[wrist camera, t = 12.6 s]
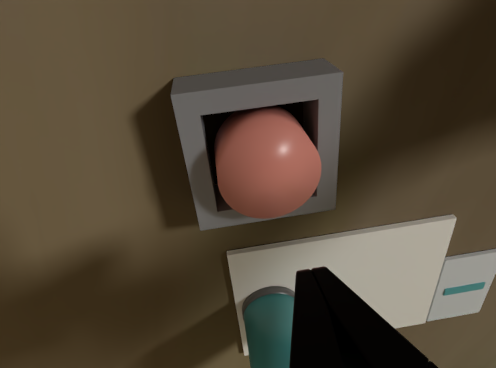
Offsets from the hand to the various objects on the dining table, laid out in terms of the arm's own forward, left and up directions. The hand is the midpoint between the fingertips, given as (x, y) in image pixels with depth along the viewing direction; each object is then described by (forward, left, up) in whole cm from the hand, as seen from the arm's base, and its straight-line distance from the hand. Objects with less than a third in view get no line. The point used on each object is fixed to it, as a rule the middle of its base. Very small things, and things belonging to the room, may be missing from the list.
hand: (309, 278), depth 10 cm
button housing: (0, 0, -10) cm, 10 cm away
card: (-15, +15, -10) cm, 23 cm away
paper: (-5, +13, -10) cm, 17 cm away
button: (0, 0, -8) cm, 8 cm away
